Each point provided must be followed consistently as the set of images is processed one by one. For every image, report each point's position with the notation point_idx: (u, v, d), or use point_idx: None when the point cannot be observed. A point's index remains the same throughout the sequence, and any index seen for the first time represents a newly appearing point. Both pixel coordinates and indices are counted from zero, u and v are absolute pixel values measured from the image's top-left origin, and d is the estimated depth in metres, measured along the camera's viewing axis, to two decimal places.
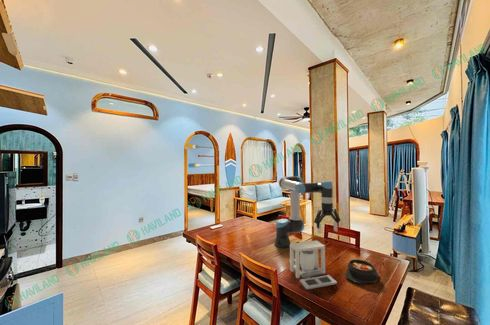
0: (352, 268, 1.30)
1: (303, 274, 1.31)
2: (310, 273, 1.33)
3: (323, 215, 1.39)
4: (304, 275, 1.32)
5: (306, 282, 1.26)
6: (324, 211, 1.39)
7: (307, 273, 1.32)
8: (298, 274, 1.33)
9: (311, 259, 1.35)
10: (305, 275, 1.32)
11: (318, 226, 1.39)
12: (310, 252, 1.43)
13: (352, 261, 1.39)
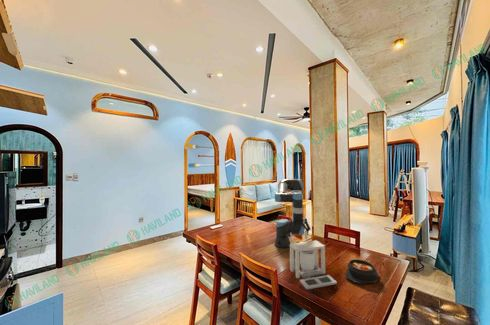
0: (352, 268, 1.30)
1: (303, 274, 1.31)
2: (310, 273, 1.33)
3: (294, 224, 1.49)
4: (304, 275, 1.32)
5: (306, 282, 1.26)
6: (295, 221, 1.50)
7: (307, 273, 1.32)
8: (298, 274, 1.33)
9: (311, 259, 1.35)
10: (305, 275, 1.32)
11: (289, 235, 1.49)
12: (310, 252, 1.43)
13: (352, 261, 1.39)
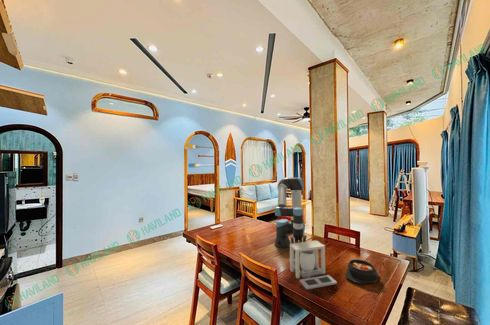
0: (352, 268, 1.30)
1: (303, 274, 1.31)
2: (310, 273, 1.33)
3: (296, 241, 1.50)
4: (304, 275, 1.32)
5: (306, 282, 1.26)
6: (295, 236, 1.50)
7: (307, 273, 1.32)
8: (298, 274, 1.33)
9: (311, 259, 1.35)
10: (305, 275, 1.32)
11: None
12: (310, 252, 1.43)
13: (352, 261, 1.39)
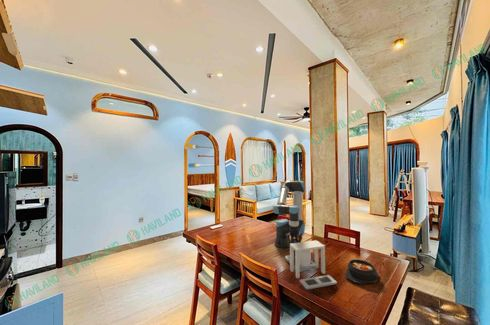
0: (352, 268, 1.30)
1: None
2: (305, 268, 1.39)
3: (292, 238, 1.57)
4: None
5: (306, 282, 1.26)
6: (291, 233, 1.57)
7: (302, 268, 1.39)
8: (298, 274, 1.33)
9: (307, 255, 1.40)
10: (300, 270, 1.38)
11: None
12: None
13: (352, 261, 1.39)
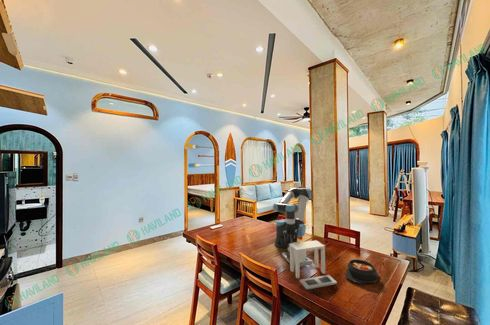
0: (352, 268, 1.30)
1: (294, 264, 1.44)
2: (300, 263, 1.45)
3: (288, 235, 1.63)
4: None
5: (306, 282, 1.26)
6: (288, 230, 1.63)
7: None
8: (298, 274, 1.33)
9: (303, 251, 1.46)
10: None
11: (288, 245, 1.63)
12: None
13: (352, 261, 1.39)
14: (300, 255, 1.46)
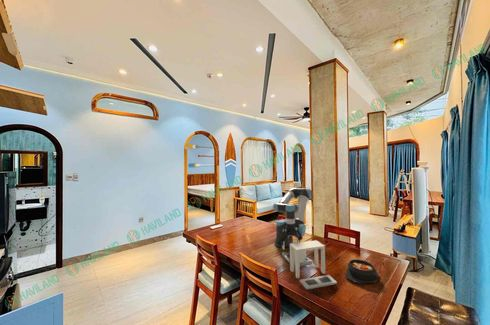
0: (352, 268, 1.30)
1: (294, 264, 1.44)
2: (300, 263, 1.45)
3: (286, 234, 1.62)
4: None
5: (306, 282, 1.26)
6: (287, 230, 1.63)
7: None
8: (298, 274, 1.33)
9: (303, 251, 1.46)
10: None
11: (282, 243, 1.62)
12: None
13: (352, 261, 1.39)
14: (300, 255, 1.46)
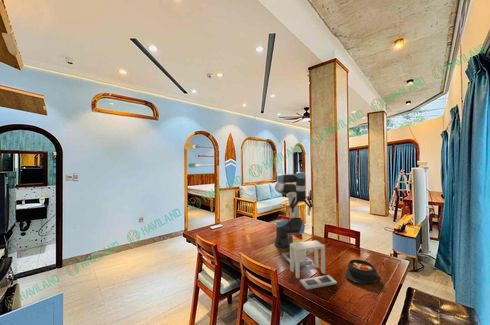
0: (352, 268, 1.30)
1: (294, 264, 1.44)
2: (300, 263, 1.45)
3: (297, 201, 1.63)
4: None
5: (306, 282, 1.26)
6: (298, 198, 1.63)
7: None
8: (298, 274, 1.33)
9: (303, 251, 1.46)
10: None
11: (292, 210, 1.63)
12: None
13: (352, 261, 1.39)
14: (300, 255, 1.46)
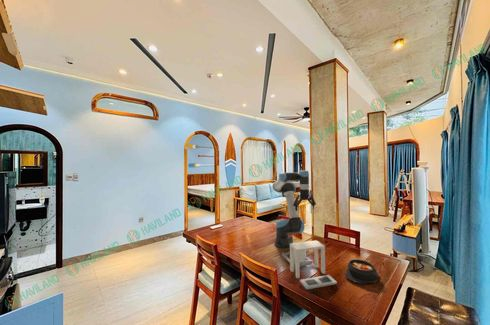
0: (352, 268, 1.30)
1: (294, 264, 1.44)
2: (300, 263, 1.45)
3: (300, 199, 1.62)
4: None
5: (306, 282, 1.26)
6: (301, 196, 1.63)
7: None
8: (298, 274, 1.33)
9: (303, 251, 1.46)
10: None
11: (296, 209, 1.62)
12: None
13: (352, 261, 1.39)
14: (300, 255, 1.46)
